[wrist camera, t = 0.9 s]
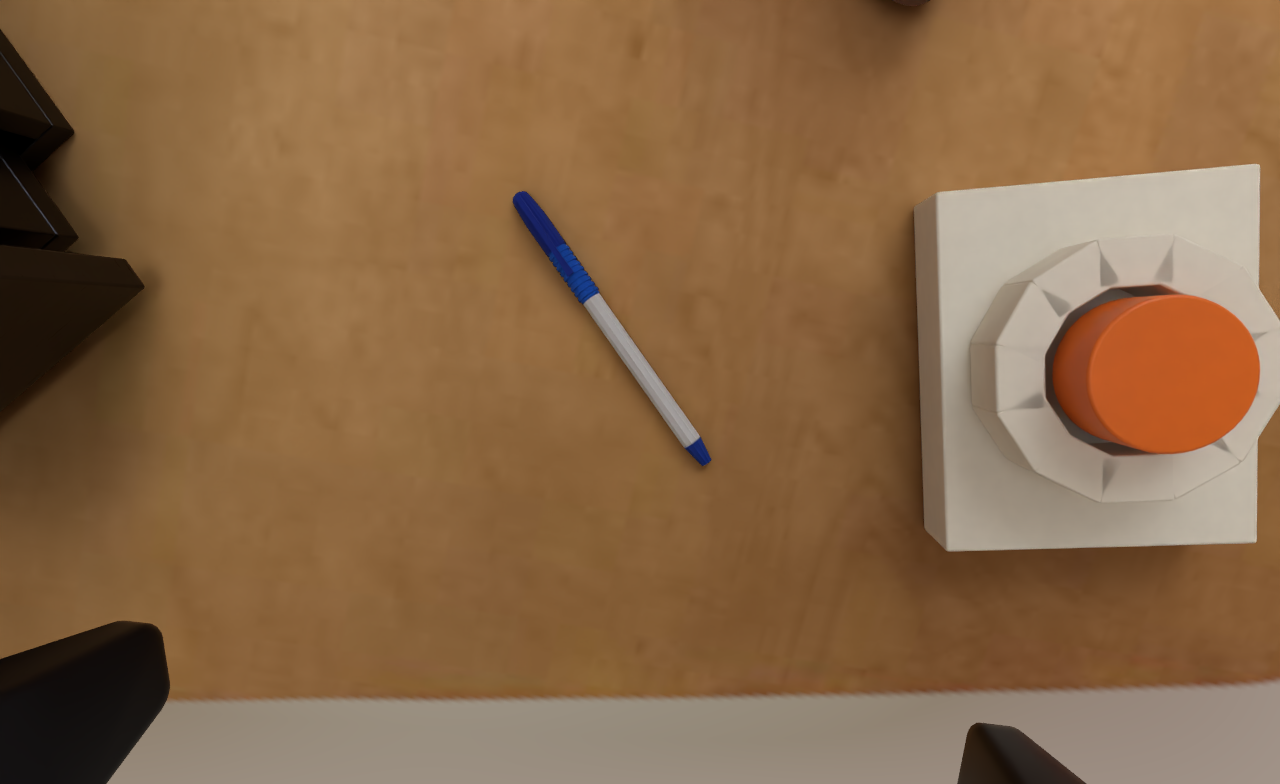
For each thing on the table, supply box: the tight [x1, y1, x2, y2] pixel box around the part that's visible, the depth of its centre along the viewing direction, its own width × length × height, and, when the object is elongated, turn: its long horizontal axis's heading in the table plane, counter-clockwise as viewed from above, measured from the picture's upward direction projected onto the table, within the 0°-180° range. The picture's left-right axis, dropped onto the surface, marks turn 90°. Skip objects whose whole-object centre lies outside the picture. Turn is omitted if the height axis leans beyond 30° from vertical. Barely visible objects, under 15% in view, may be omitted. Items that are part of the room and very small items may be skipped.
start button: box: [1052, 294, 1260, 454], centre depth 16 cm, size 4×4×2 cm
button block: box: [914, 164, 1280, 551], centre depth 19 cm, size 10×8×4 cm
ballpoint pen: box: [513, 191, 711, 466], centre depth 22 cm, size 10×1×1 cm, turn 37°
